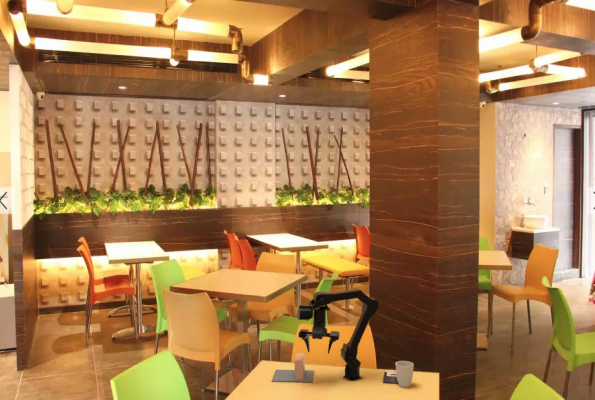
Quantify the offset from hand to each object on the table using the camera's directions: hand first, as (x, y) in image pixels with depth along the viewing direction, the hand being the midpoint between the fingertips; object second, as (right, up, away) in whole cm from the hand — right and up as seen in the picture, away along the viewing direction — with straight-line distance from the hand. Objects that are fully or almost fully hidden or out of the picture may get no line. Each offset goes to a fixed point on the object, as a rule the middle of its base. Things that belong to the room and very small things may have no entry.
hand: (318, 352), depth 254 cm
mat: (-12, -13, +6) cm, 18 cm away
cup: (+39, -13, -8) cm, 41 cm away
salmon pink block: (-9, -8, +5) cm, 13 cm away
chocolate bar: (+36, -13, +3) cm, 38 cm away
